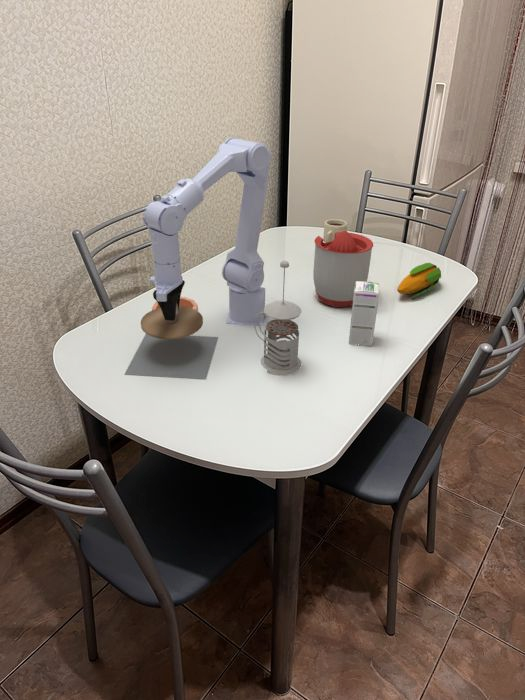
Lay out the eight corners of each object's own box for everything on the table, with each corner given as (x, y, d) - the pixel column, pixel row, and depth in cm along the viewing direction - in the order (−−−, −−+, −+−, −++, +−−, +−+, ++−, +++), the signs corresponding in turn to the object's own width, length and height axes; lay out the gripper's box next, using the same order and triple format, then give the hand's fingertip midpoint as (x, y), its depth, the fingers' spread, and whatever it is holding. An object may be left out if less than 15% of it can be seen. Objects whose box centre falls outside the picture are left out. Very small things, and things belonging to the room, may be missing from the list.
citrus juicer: (337, 280, 158) (344, 216, 147) (377, 303, 145) (387, 234, 135) (295, 292, 150) (299, 225, 140) (333, 316, 138) (341, 245, 127)
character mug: (335, 269, 165) (339, 229, 158) (315, 264, 168) (318, 225, 161) (349, 258, 173) (353, 219, 166) (329, 253, 176) (333, 216, 169)
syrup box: (372, 347, 125) (380, 292, 118) (347, 344, 126) (354, 290, 119) (372, 335, 130) (380, 282, 122) (349, 332, 131) (355, 280, 123)
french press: (288, 380, 113) (294, 274, 100) (244, 364, 118) (243, 261, 105) (309, 359, 120) (317, 258, 107) (266, 345, 125) (269, 246, 112)
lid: (207, 310, 124) (206, 292, 122) (197, 340, 112) (196, 321, 110) (149, 307, 125) (147, 289, 122) (133, 337, 113) (131, 318, 110)
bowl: (201, 313, 139) (200, 297, 136) (193, 334, 129) (192, 318, 127) (160, 310, 139) (158, 295, 137) (149, 331, 130) (147, 316, 127)
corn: (449, 261, 152) (413, 280, 140) (445, 285, 156) (410, 306, 144) (426, 256, 157) (389, 274, 145) (423, 279, 160) (387, 299, 148)
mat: (218, 338, 128) (218, 337, 127) (205, 380, 112) (205, 379, 112) (146, 334, 129) (146, 333, 128) (124, 376, 113) (124, 374, 113)
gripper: (156, 246, 117) (161, 300, 124) (138, 272, 104) (146, 331, 112) (187, 247, 116) (191, 301, 124) (173, 274, 104) (178, 332, 111)
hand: (171, 315), depth 118 cm, fingers closed on lid, 3 cm apart
